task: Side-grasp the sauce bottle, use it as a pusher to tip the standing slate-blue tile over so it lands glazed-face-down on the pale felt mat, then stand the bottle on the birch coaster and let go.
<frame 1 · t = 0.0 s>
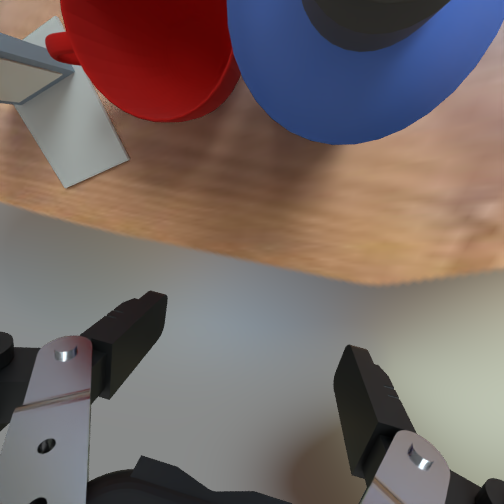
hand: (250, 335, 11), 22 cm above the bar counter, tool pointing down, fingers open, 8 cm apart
ceramic cup: (181, 59, 27), on the bar counter
tile: (42, 81, 29), resting on mat
water bottle: (320, 88, 26), on the bar counter
mat: (63, 113, 31), on the bar counter
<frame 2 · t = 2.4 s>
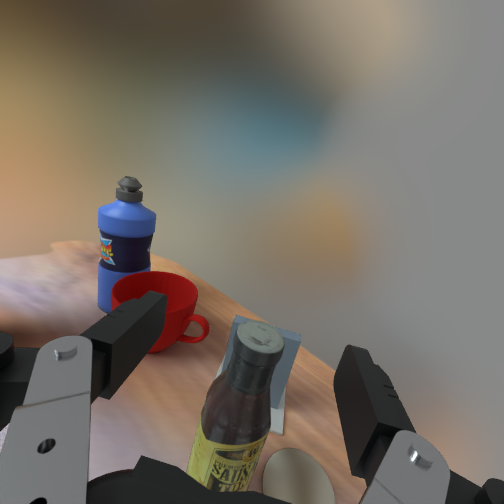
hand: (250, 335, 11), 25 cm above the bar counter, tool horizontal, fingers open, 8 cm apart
ceramic cup: (160, 345, 44), on the bar counter
tile: (248, 394, 38), resting on mat
coaster: (297, 490, 28), on the bar counter
sauce bottle: (213, 492, 26), on the bar counter
water bottle: (123, 302, 52), on the bar counter
mat: (251, 378, 41), on the bar counter
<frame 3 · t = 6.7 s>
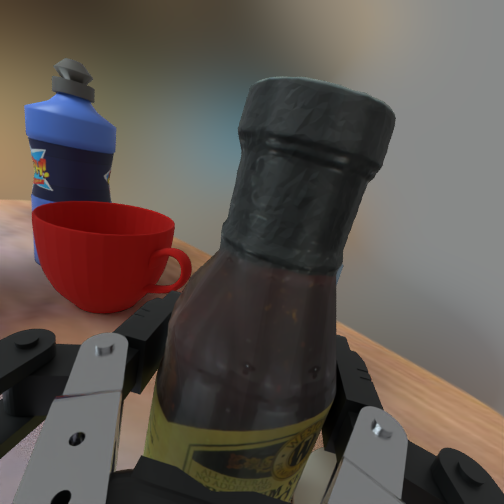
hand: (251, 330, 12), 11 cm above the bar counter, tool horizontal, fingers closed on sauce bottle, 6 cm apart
ceramic cup: (120, 305, 30), on the bar counter
water bottle: (74, 258, 38), on the bar counter
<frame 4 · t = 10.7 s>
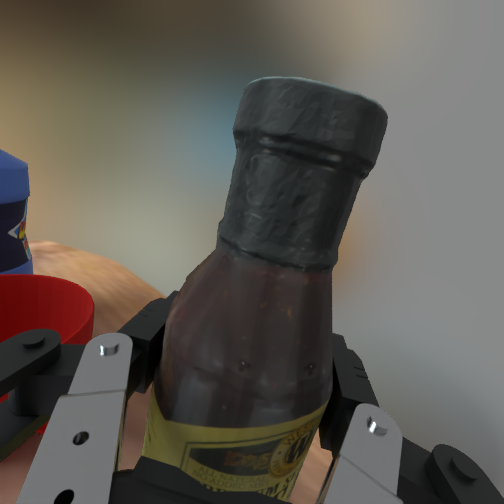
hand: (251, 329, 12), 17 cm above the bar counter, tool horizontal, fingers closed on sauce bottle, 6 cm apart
ceramic cup: (16, 430, 21), on the bar counter
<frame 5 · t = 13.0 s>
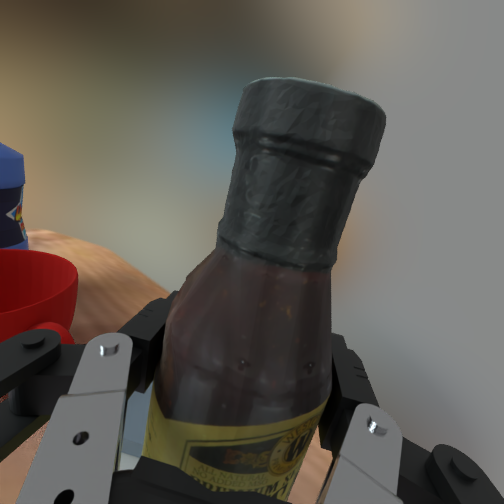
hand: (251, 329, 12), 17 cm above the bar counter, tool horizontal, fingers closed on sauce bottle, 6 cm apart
ceramic cup: (11, 378, 25), on the bar counter
tile: (155, 456, 20), point 1 cm above the bar counter, tilted 90°, touching mat
when the fingers open (12 cm above the bar counter, at t = 14.9 s): sauce bottle stays where it is, resting on coaster.
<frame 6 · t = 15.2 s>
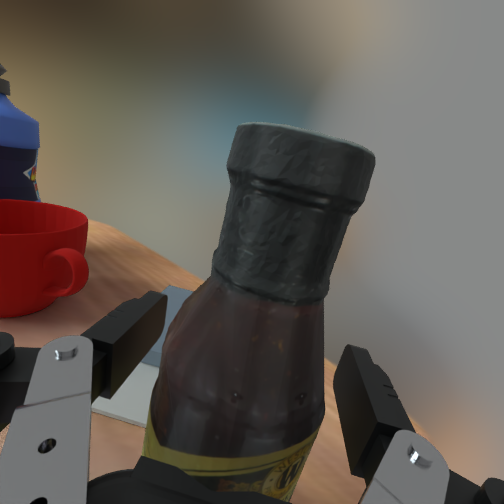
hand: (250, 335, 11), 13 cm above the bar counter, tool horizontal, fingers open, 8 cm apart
ceramic cup: (29, 309, 28), on the bar counter
tile: (155, 359, 23), point 1 cm above the bar counter, tilted 90°, touching mat
water bottle: (2, 259, 36), on the bar counter
mat: (166, 353, 26), on the bar counter
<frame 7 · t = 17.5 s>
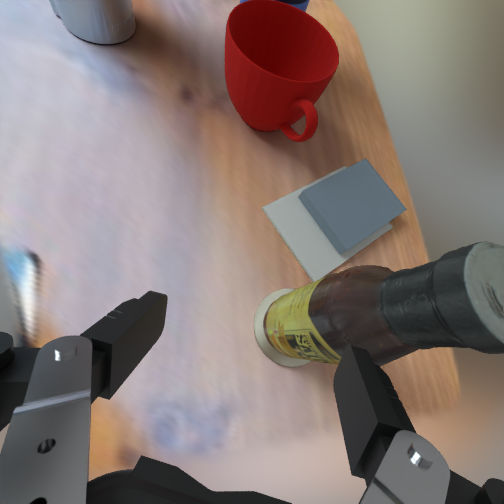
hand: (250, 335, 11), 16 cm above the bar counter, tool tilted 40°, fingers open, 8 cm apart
ceramic cup: (265, 125, 37), on the bar counter
tile: (321, 222, 31), point 1 cm above the bar counter, tilted 90°, touching mat
coaster: (289, 326, 28), on the bar counter
sauce bottle: (289, 326, 27), resting on coaster
mat: (329, 219, 33), on the bar counter
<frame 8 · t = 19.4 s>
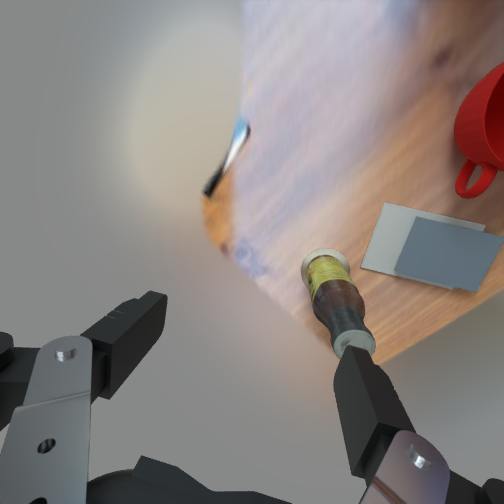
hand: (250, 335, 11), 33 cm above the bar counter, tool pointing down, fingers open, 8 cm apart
ceramic cup: (472, 138, 36), on the bar counter
tile: (406, 245, 40), point 1 cm above the bar counter, tilted 90°, touching mat
coaster: (324, 270, 44), on the bar counter
sauce bottle: (324, 270, 44), resting on coaster
mat: (418, 246, 41), on the bar counter
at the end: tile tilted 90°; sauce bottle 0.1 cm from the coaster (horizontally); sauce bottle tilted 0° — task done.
